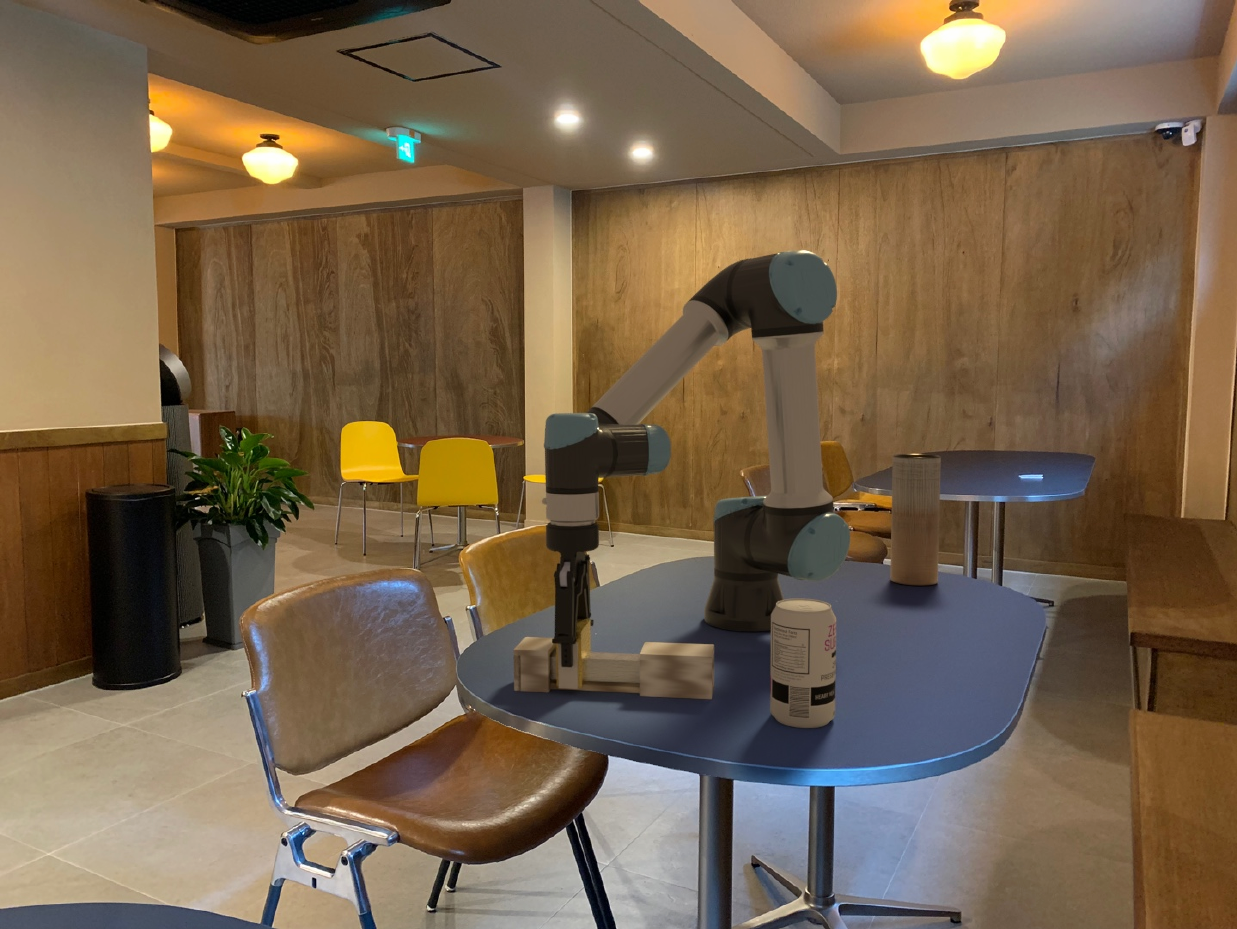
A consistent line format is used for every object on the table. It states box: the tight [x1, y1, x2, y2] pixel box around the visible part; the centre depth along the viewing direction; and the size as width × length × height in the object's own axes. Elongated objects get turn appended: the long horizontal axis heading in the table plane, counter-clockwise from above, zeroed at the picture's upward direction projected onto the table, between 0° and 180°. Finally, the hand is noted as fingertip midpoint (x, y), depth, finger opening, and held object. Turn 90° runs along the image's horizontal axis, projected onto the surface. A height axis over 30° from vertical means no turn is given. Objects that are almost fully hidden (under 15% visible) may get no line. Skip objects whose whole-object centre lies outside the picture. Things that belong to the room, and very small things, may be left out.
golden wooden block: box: [550, 618, 640, 688], centre depth 130 cm, size 20×7×8 cm, turn 81°
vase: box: [889, 453, 942, 587], centre depth 198 cm, size 10×10×28 cm
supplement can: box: [769, 598, 837, 729], centre depth 117 cm, size 8×8×15 cm
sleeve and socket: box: [513, 636, 715, 700], centre depth 130 cm, size 28×7×6 cm, turn 81°
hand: (574, 678), depth 131 cm, fingers closed on golden wooden block, 7 cm apart
